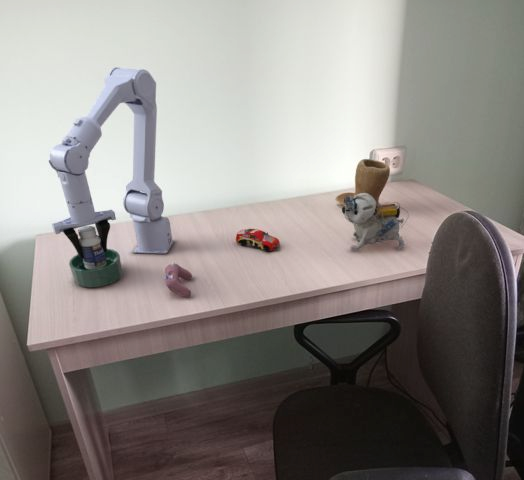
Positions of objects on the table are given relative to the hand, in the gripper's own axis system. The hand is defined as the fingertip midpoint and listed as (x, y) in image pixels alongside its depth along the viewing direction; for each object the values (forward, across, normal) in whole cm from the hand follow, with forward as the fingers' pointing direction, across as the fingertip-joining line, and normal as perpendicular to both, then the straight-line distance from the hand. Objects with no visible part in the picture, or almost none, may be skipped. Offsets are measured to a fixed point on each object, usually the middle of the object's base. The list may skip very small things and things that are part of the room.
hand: (93, 253), depth 123 cm
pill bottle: (+4, 0, 0) cm, 4 cm away
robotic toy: (+7, -67, +28) cm, 73 cm away
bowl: (+7, 0, 0) cm, 7 cm away
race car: (+7, -43, +9) cm, 44 cm away
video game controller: (+7, -14, +18) cm, 24 cm away
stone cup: (+7, -84, +7) cm, 84 cm away
